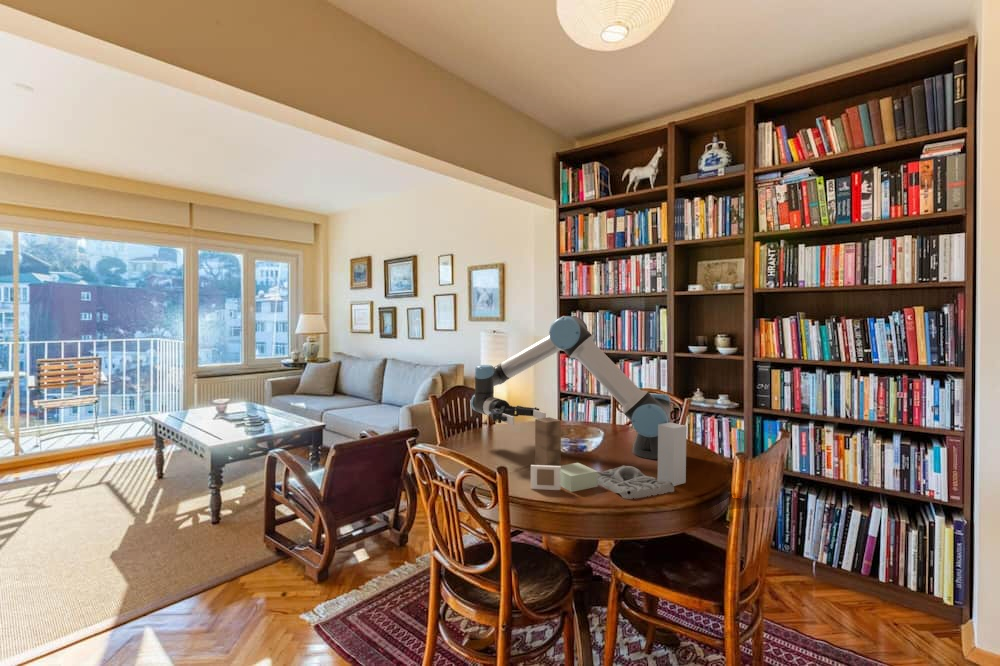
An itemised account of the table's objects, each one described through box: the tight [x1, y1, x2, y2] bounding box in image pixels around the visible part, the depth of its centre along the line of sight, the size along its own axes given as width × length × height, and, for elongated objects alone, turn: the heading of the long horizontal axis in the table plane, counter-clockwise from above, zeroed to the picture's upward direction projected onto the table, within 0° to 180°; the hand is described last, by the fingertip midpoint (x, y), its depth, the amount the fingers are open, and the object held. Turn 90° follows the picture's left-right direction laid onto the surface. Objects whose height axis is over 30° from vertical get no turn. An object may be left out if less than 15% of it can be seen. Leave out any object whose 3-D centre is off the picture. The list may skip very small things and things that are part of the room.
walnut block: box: [534, 416, 562, 466], centre depth 161 cm, size 6×6×18 cm
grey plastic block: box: [657, 421, 687, 487], centre depth 153 cm, size 6×6×18 cm
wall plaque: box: [598, 464, 675, 500], centre depth 153 cm, size 24×19×4 cm
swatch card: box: [530, 464, 561, 491], centre depth 147 cm, size 2×9×7 cm, turn 83°
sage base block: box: [560, 462, 599, 493], centre depth 151 cm, size 10×10×5 cm
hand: (529, 418), depth 169 cm, fingers open, 13 cm apart
